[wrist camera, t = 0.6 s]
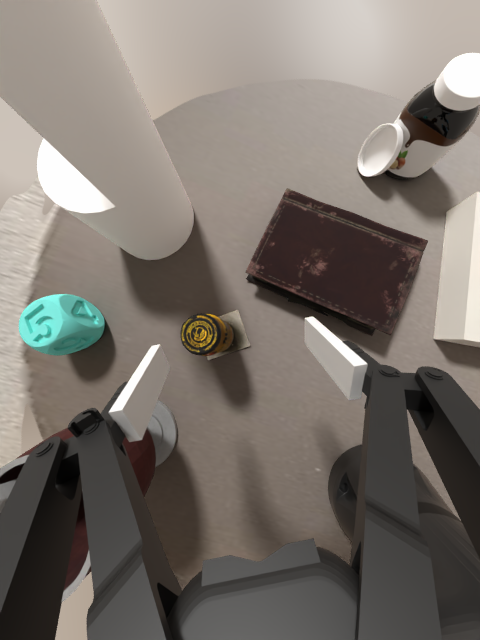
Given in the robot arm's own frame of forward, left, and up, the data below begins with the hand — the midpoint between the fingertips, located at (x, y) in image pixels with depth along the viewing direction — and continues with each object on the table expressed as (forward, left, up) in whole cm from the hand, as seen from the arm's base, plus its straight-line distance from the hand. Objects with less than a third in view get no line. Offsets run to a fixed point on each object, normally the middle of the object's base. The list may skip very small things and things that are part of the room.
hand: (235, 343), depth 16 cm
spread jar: (+20, -40, -18) cm, 48 cm away
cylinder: (+31, +7, -18) cm, 36 cm away
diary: (+7, -20, -18) cm, 27 cm away
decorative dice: (+16, +28, -18) cm, 37 cm away
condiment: (+3, +3, -18) cm, 18 cm away
